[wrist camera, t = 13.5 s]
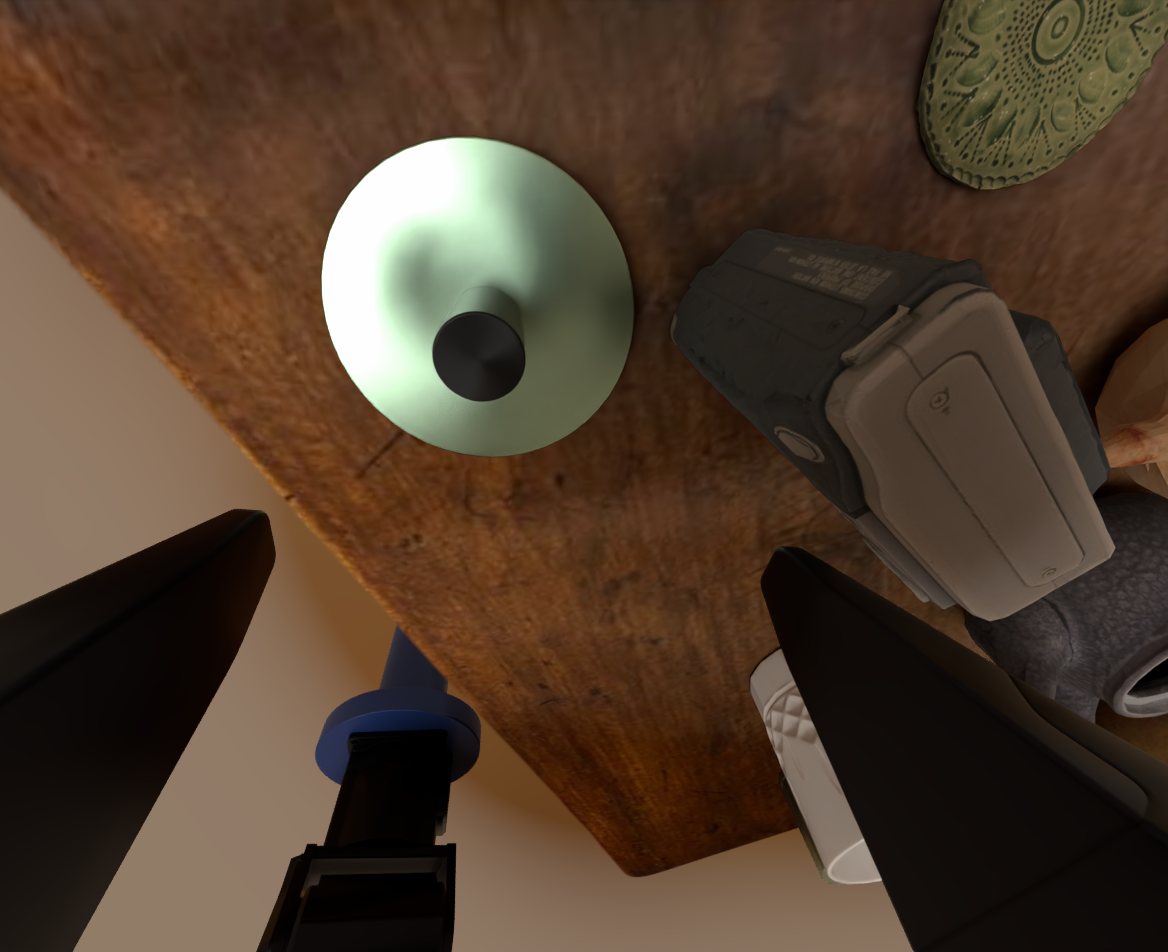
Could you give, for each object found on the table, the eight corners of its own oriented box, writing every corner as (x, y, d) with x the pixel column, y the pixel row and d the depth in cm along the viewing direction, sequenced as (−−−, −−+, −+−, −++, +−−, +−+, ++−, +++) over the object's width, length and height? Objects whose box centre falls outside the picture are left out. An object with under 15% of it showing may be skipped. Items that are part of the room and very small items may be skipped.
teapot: (926, 523, 25) (1143, 690, 16) (1194, 455, 25) (1548, 587, 16) (874, 709, 35) (992, 872, 26) (1065, 660, 35) (1243, 807, 26)
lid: (345, 431, 17) (290, 505, 13) (314, 100, 12) (209, 44, 8) (598, 455, 20) (622, 526, 15) (659, 181, 15) (721, 172, 10)
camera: (643, 319, 17) (778, 437, 8) (767, 189, 15) (1096, 170, 7) (794, 483, 22) (973, 660, 13) (900, 400, 20) (1181, 541, 12)
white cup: (869, 625, 29) (1017, 801, 20) (831, 698, 33) (941, 869, 24) (754, 637, 28) (860, 827, 19) (729, 711, 32) (808, 894, 23)
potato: (1246, 771, 36) (1284, 692, 33) (1213, 864, 30) (1256, 775, 28) (1097, 705, 42) (1120, 635, 40) (1047, 770, 37) (1070, 693, 34)
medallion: (1126, -279, 11) (1164, -310, 10) (1216, -6, 14) (1250, -16, 13) (866, 77, 14) (884, 70, 13) (988, 237, 17) (1007, 238, 16)
